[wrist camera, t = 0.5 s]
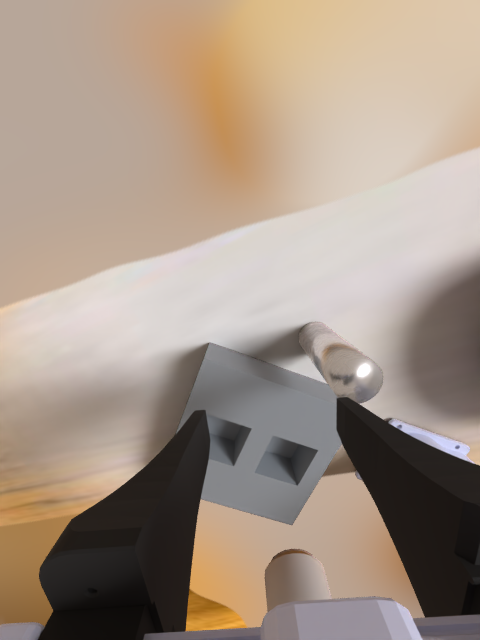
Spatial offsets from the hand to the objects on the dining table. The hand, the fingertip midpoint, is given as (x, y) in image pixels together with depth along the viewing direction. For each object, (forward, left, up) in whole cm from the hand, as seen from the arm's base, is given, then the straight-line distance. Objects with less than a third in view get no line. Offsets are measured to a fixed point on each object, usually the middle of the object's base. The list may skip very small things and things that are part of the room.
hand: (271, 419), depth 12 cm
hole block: (-2, +8, -10) cm, 12 cm away
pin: (-4, -3, -10) cm, 11 cm away
